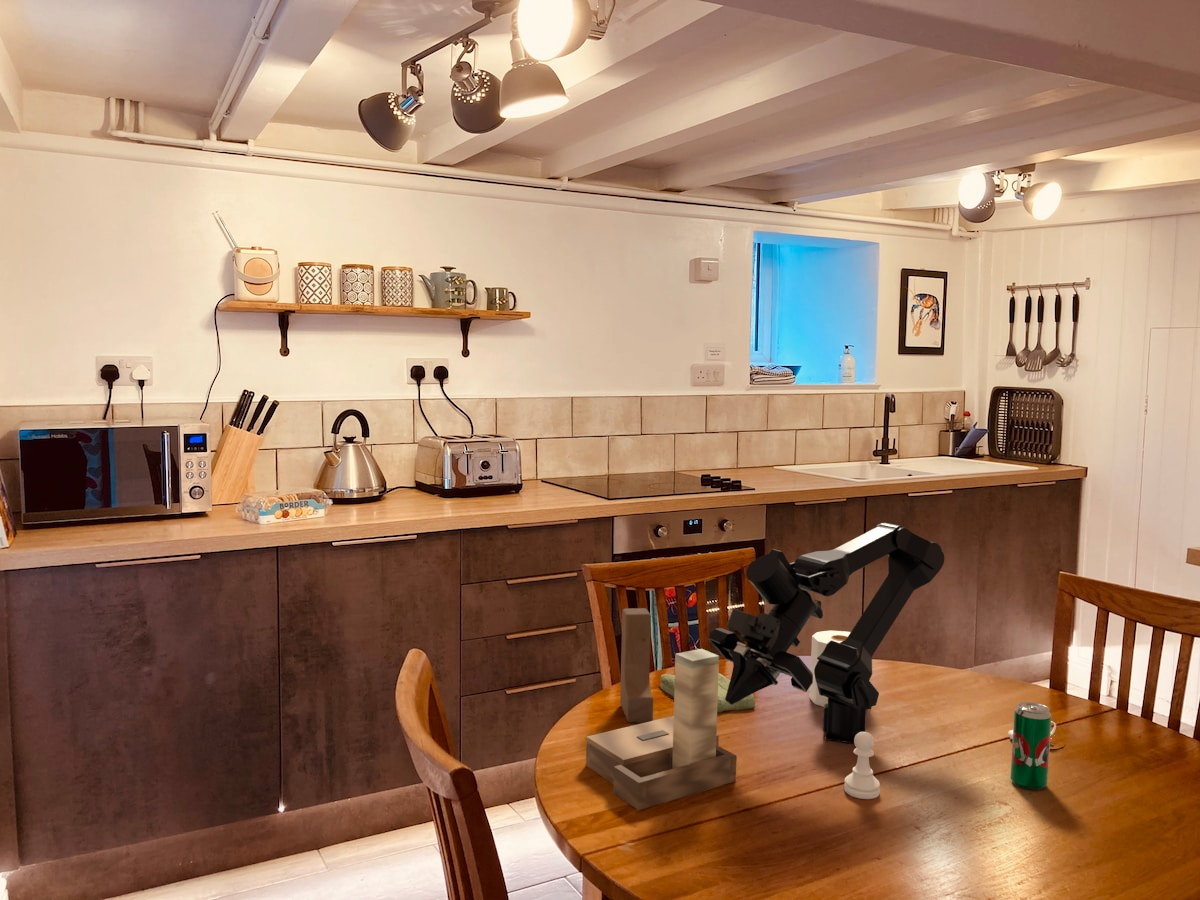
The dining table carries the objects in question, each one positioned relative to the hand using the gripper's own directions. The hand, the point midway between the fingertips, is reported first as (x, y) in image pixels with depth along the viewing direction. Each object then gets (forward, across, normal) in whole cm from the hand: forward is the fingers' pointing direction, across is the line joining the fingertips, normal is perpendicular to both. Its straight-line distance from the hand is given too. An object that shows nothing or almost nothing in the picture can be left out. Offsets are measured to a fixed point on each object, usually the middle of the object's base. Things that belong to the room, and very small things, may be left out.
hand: (728, 702), depth 143 cm
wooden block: (+6, -26, +9) cm, 29 cm away
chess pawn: (-1, +16, +17) cm, 23 cm away
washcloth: (-5, -27, +21) cm, 35 cm away
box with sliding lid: (+14, -5, +1) cm, 15 cm away
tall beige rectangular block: (+12, 0, +3) cm, 13 cm away
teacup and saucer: (-30, +15, +46) cm, 57 cm away
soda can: (-18, +27, +33) cm, 47 cm away
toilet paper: (-20, -12, +35) cm, 42 cm away
